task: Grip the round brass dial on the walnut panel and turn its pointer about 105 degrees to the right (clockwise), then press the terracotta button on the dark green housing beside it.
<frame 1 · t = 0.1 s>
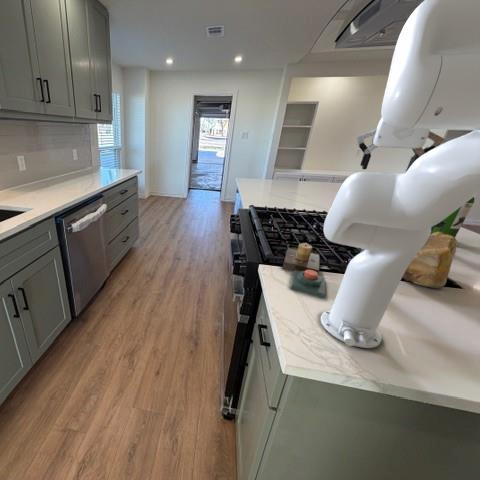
hand: (385, 170, 68), 37 cm above the countertop, tool pointing down, fingers open, 9 cm apart
dial: (304, 251, 92), point 6 cm above the countertop, hinge at 0.0°
plastic bottle: (359, 284, 84), on the countertop
wine bottle: (439, 239, 123), on the countertop
button: (310, 274, 81), point 4 cm above the countertop, slide at 0.2 cm
button box: (307, 285, 82), on the countertop
dial panel: (300, 265, 95), on the countertop
rough brown rock: (410, 273, 92), on the countertop
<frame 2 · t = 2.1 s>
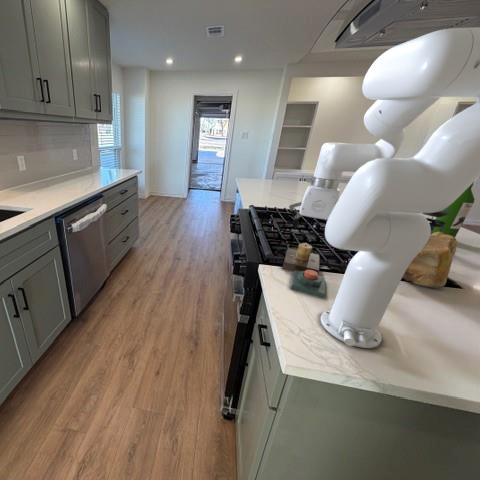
hand: (310, 231, 89), 14 cm above the countertop, tool pointing down, fingers open, 9 cm apart
nothing on the countertop moved.
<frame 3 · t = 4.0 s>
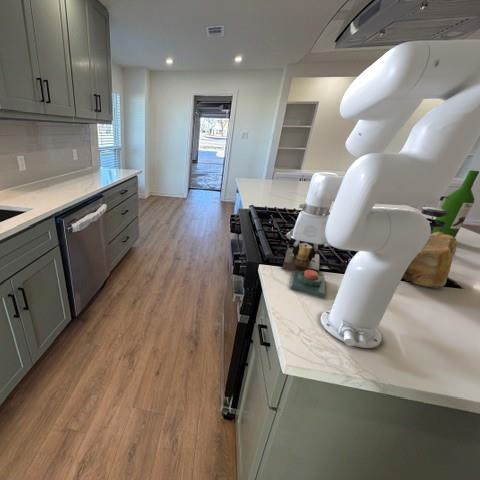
hand: (302, 256, 93), 4 cm above the countertop, tool pointing down, fingers closed on dial, 4 cm apart
dial: (304, 251, 92), point 6 cm above the countertop, hinge at 0.0°, touching gripper
everything else where it was.
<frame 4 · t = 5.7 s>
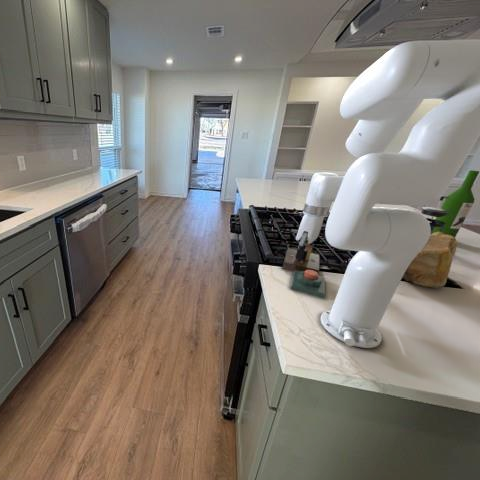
hand: (302, 256, 93), 4 cm above the countertop, tool pointing down, fingers closed on dial, 4 cm apart
dial: (304, 251, 92), point 6 cm above the countertop, hinge at -106.4°, touching gripper
everything else where it was.
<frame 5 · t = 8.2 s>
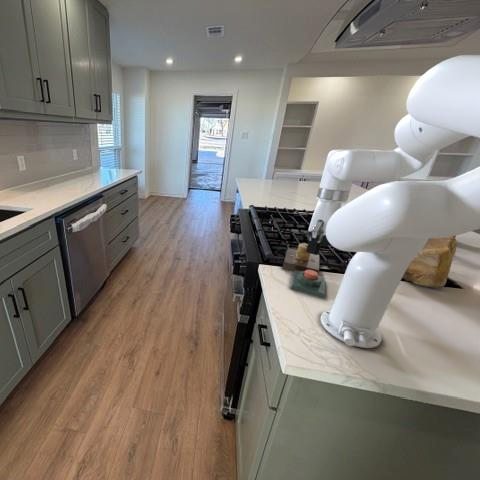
hand: (317, 249, 79), 12 cm above the countertop, tool pointing down, fingers open, 9 cm apart
dial: (304, 251, 92), point 6 cm above the countertop, hinge at -106.9°
everything else where it was.
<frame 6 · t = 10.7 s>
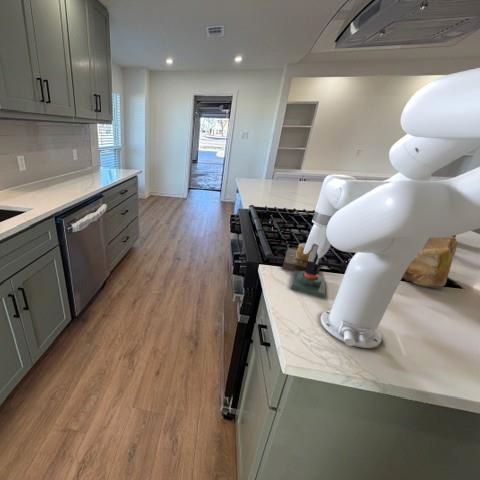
hand: (310, 272, 81), 5 cm above the countertop, tool pointing down, fingers closed
button: (310, 275, 81), point 4 cm above the countertop, slide at -0.3 cm, touching gripper
everything else where it was.
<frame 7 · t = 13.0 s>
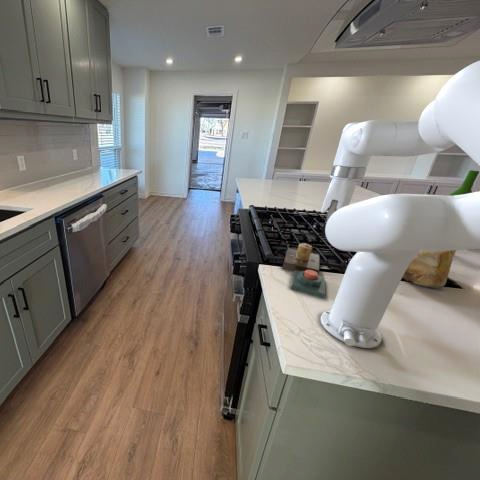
hand: (327, 235, 75), 18 cm above the countertop, tool pointing down, fingers closed
button: (310, 274, 81), point 4 cm above the countertop, slide at 0.1 cm
everything else where it was.
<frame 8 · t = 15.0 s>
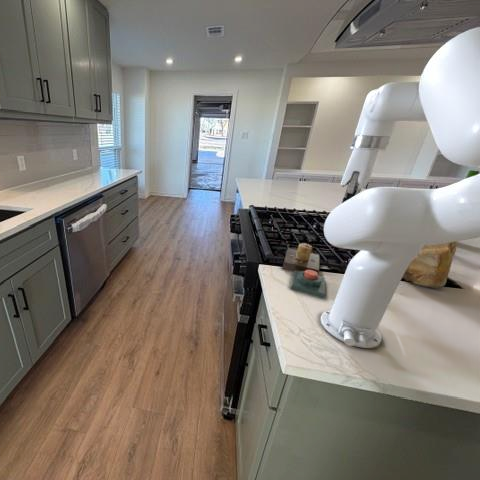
hand: (346, 211, 73), 25 cm above the countertop, tool pointing down, fingers closed
nothing on the countertop moved.
at the end: dial at -107° (first picture: +0°); button pushed in 1.0 cm at the most during the clip, back to where it started at the end; button slide at 0.1 cm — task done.
